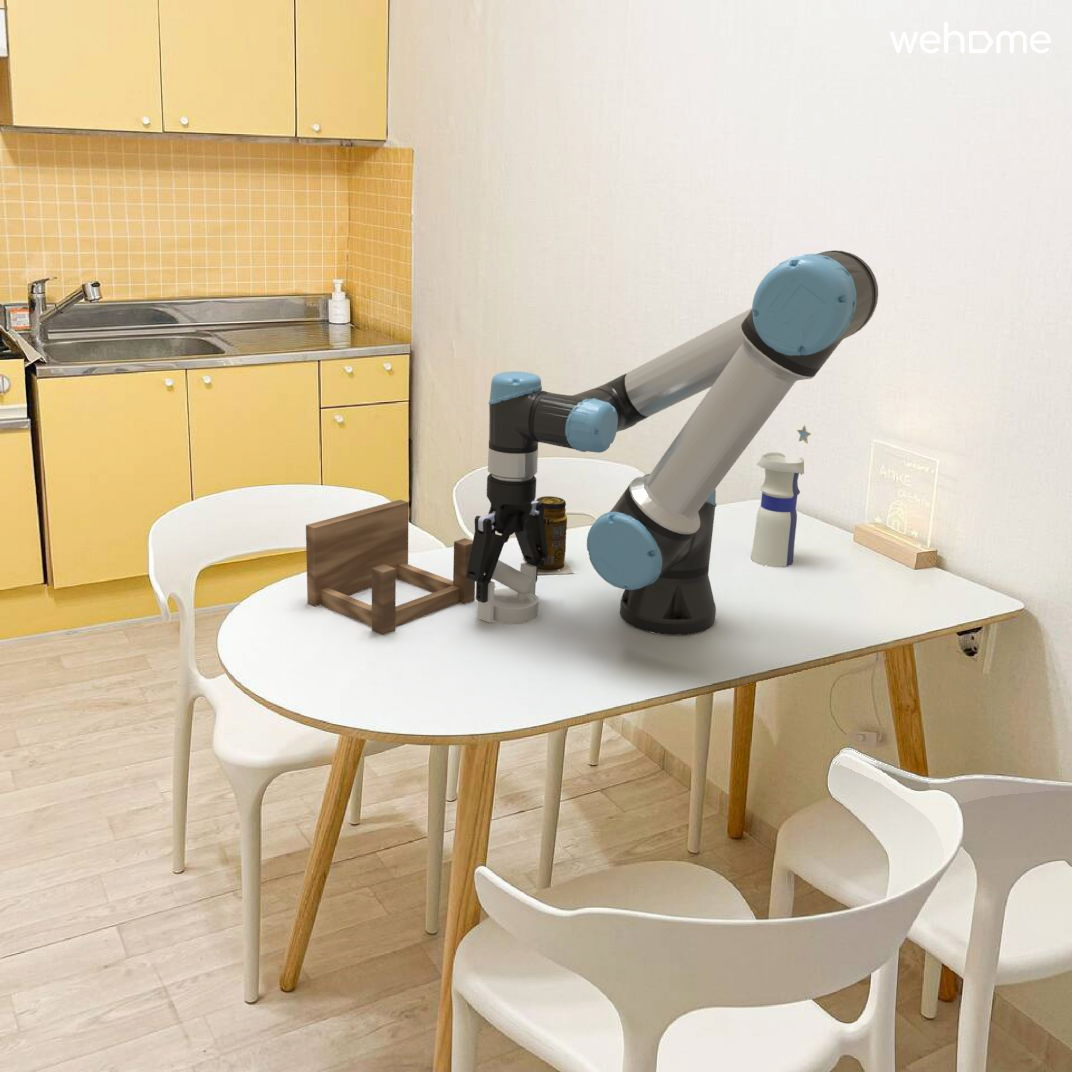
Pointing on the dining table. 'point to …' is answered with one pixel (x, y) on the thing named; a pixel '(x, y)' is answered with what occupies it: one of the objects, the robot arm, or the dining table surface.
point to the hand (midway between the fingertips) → (506, 610)
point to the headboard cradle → (377, 568)
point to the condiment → (554, 536)
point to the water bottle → (777, 509)
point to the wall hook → (513, 596)
